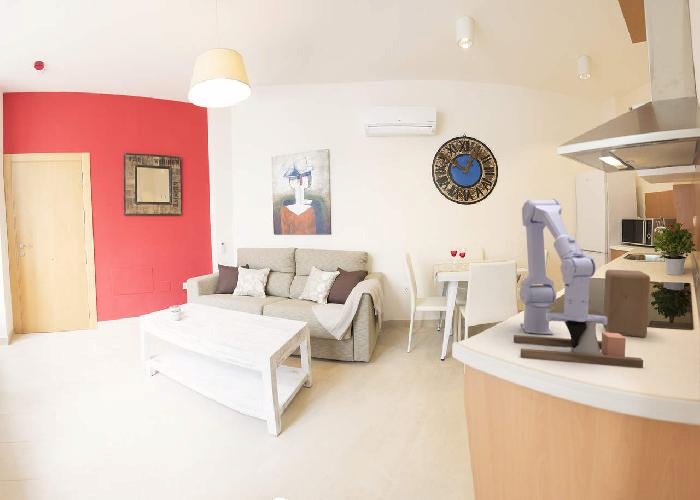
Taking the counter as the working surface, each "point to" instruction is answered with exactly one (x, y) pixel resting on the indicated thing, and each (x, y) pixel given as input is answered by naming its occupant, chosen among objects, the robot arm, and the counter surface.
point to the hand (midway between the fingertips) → (574, 347)
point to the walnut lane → (569, 355)
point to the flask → (588, 340)
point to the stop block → (613, 344)
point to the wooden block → (626, 302)
